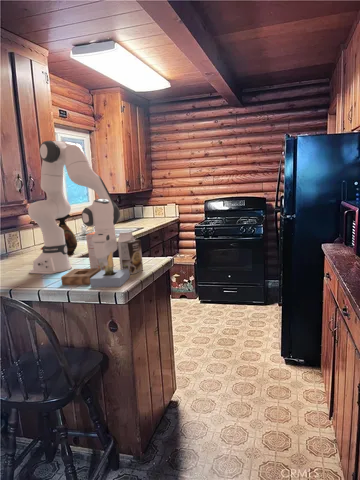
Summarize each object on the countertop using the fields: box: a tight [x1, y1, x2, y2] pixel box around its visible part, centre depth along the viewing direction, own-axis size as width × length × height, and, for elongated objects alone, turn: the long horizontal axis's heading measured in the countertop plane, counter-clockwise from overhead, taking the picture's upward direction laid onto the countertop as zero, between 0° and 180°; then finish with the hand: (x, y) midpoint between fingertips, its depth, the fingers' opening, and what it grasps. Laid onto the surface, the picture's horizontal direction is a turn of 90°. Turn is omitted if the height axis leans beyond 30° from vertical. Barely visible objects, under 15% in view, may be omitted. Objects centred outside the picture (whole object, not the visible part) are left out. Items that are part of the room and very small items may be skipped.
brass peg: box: [104, 251, 115, 276], centre depth 162 cm, size 4×4×12 cm
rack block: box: [60, 267, 101, 286], centre depth 170 cm, size 14×14×4 cm
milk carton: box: [117, 232, 136, 270], centre depth 187 cm, size 7×7×19 cm
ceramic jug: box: [56, 213, 78, 256], centre depth 232 cm, size 17×15×30 cm
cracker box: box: [85, 231, 114, 270], centre depth 186 cm, size 14×6×21 cm, turn 159°
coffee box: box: [120, 239, 144, 275], centre depth 178 cm, size 9×6×16 cm
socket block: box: [90, 269, 131, 288], centre depth 164 cm, size 14×14×4 cm
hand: (108, 264), depth 162 cm, fingers closed on brass peg, 4 cm apart
